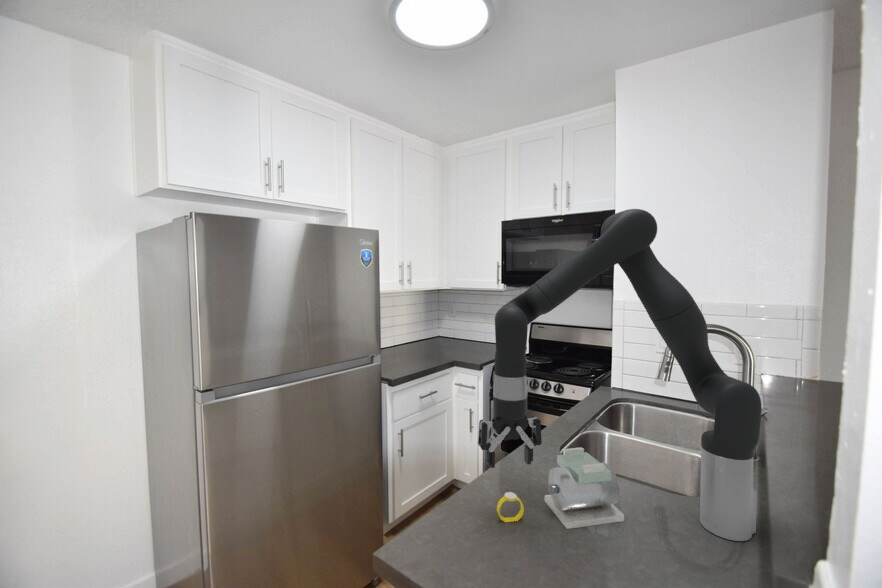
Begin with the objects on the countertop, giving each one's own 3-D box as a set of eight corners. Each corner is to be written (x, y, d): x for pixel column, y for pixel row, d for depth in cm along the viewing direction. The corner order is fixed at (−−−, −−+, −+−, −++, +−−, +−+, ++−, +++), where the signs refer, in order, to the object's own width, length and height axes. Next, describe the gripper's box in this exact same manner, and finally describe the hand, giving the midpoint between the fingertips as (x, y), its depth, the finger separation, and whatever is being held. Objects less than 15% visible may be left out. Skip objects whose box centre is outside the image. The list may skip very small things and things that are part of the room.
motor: (596, 494, 99) (596, 444, 99) (624, 521, 88) (624, 464, 88) (539, 501, 96) (539, 449, 96) (560, 529, 86) (560, 471, 85)
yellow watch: (520, 516, 91) (522, 491, 91) (524, 524, 88) (526, 498, 88) (495, 517, 90) (497, 491, 90) (498, 524, 88) (500, 498, 87)
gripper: (532, 387, 93) (532, 454, 94) (475, 391, 90) (474, 459, 91) (547, 397, 86) (546, 469, 86) (484, 401, 83) (484, 475, 84)
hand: (509, 464), depth 89 cm, fingers open, 8 cm apart
